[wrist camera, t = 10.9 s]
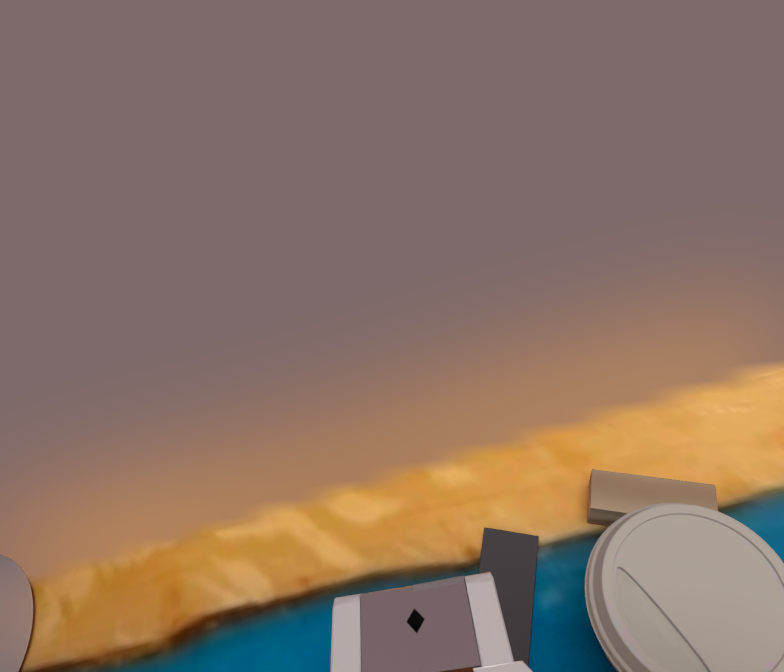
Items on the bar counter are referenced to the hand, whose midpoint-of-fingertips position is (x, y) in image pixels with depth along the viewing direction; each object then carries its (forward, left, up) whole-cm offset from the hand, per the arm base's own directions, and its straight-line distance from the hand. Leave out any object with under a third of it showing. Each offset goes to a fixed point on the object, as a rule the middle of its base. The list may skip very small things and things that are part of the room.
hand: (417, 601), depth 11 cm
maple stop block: (+14, +3, -27) cm, 31 cm away
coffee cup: (+9, -2, -27) cm, 29 cm away
